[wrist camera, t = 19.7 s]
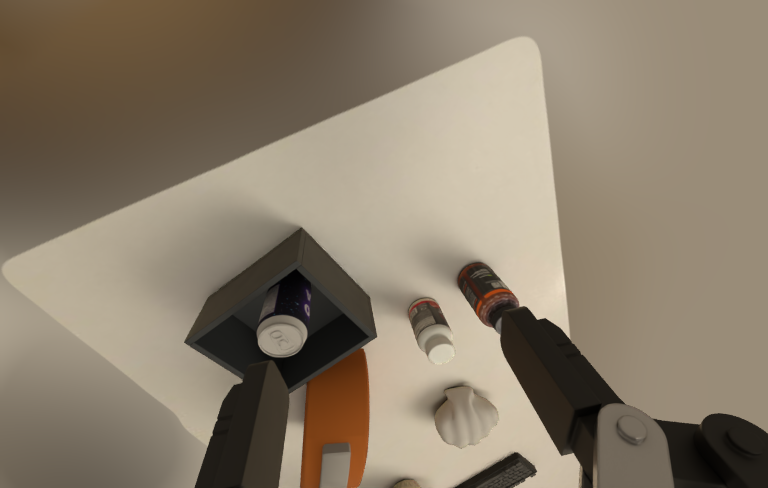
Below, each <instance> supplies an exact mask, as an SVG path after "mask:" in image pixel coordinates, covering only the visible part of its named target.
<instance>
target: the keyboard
mask: <svg viewBox="0 0 768 488" xmlns="http://www.w3.org/2000/svg"><path fill="white" fill-rule="evenodd" d="M536 472H537V471H536V469H535V467H534V465H532V464H531V463H530V462H529V461H528V460H526V459H525V458H524V457H523V456H521V455H520V454H519V453H514V454H512V455H511V456H509V457H507V458H506V459H504V460H502V461H500V462H499V463H497V464H495V465H493V466H492V467H490V468H488V469H487V470H485V471H483V472H481V473H480V474H478V475H476V476H475V477H473V478H471V479H469V480H468V481H466V482H464V483H462V484H461V485H459V486H457V487H456V488H513V487H515V485H516V486H517V485H519V484H520V482H521V483H522V482H524V481H525V479H526V478H528V477H529V476H531V477H533V476H535V475H536V474H535V473H536Z"/></svg>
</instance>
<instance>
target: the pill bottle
mask: <svg viewBox="0 0 768 488" xmlns="http://www.w3.org/2000/svg"><path fill="white" fill-rule="evenodd" d="M408 315H409V319H410V322H411V325H412V328H413V331H414V334H415V337H416V340H417V343H418V345H419V348H420V349H421V350H422V351H423V352H425V353H426V354H427V356H428V359H429V361H430V362H432V363H434V364H444V363H446V362H448V361H450V360H451V359H452V358H453V357H454V355H455V348H454V346H453V343H452V341H453V334H452V331H451V329H450V327H449V325H448V323H447V321H446V319H445V317H444V315H443V313H442V311H441V309H440V307H439V305H438V304H437V302H436V301H434V300H432V299H429V298H424V299H419V300H417V301H416V302H414V303H413V304H412V305H411V307H410V308H409V311H408Z"/></svg>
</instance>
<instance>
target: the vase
mask: <svg viewBox="0 0 768 488" xmlns="http://www.w3.org/2000/svg"><path fill="white" fill-rule="evenodd" d="M394 488H421V487H420V486H419V484H418V483H417V482H416V481H414V480H403V481H400V482H398V483H397V484H396V485H395V486H394Z"/></svg>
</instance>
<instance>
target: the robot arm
mask: <svg viewBox="0 0 768 488" xmlns="http://www.w3.org/2000/svg"><path fill="white" fill-rule="evenodd" d="M500 342H501V348H502V351H503V354H504V356H505V358H506V360H507V362H508V363H509V365H510V367H511V369H512V370H513V372H514V374H515V376H516V377H517V379H518V381H519V383H520V384H521V386H522V388H523V390H524V391H525V393H526V395H527V397H528V398H529V400H530V402H531V404H532V405H533V407H534V409H535V411H536V412H537V414H538V416H539V418H540V419H541V421H542V423H543V425H544V426H545V428H546V430H547V432H548V433H549V435H550V437H551V439H552V440H553V442H554V444H555V446H556V447H557V449H558V451H559V453H560V454H561V456H563V455H567V454H571V453H574V454H575V456H576V458H577V459H578V461H579V463H580V472H579V488H768V433H766V432H765V431H764V430H762V429H761V428H759V427H758V426H756V425H754V424H752V423H750V422H748V421H746V420H744V419H741V418H739V417H736V416H733V415H728V414H720V413H718V414H711V415H709V416H707V417H706V418H705V419H704V420H703V421H702V423H701V424H700V425H698V424H689V423H679V422H670V421H662V420H657V419H652V418H651V417H650V416H648V415H647V414H646V413H644V412H642V411H641V410H639V409H637V408H635V407H632V406H629V405H626V404H625V403H624V402H623V401H622V400H621V399H620V398H619V397H618V396H617V395H616V394H615V393H614V391H613V390H612V389H611V388H610V387H609V386H608V384H607V383H606V382H605V381H604V380H603V378H602V377H601V376H600V375H599V374H598V372H597V371H596V370H595V369H594V368H593V366H592V365H591V364H590V363H589V362H588V360H587V359H586V358H585V357H584V356H583V355H581V353H580V351H579V350H578V349H577V347H576V346H575V345H574V344H572V342H571V340H570V339H569V338H568V337H567V335H566V334H565V333H564V332H563V331H562V329H561V328H559V327H558V326H556V325H555V324H553V323H552V322H550V321H549V320H547V319H546V318H544V319H539V320H537V319H536V318H535V316H534V315H533V314H532V313H531V311H530V310H529V309H528V308H527V307H525V306H523V307H519V308H514V309H509V310H505V311H503V312H502V320H501V337H500ZM288 410H289V392H288V388H287V385H286V384H285V382H284V380H283V378H282V376H281V374H280V372H279V370H278V368H277V366H276V364H275V362H274V361H273V360H269V361H264V362H260V363H255V364H250V365H249V366H248V367H247V369H246V371H245V375H244V378H243V382H242V383H241V384H237V385H234V386H233V387H232V389H231V390H230V391H229V393H228V394H227V396H226V397H225V399H224V400H223V402H222V405H221V408H220V411H219V414H218V417H217V419H218V420H217V422H216V423H215V427H214V430H213V436H211V439H210V442H209V445H208V448H207V451H206V454H205V457H204V460H203V463H202V466H201V469H200V472H199V476H198V479H197V482H196V485H195V488H278V486H279V479H280V471H281V464H282V456H283V448H284V441H285V433H286V425H287V418H288Z"/></svg>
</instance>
